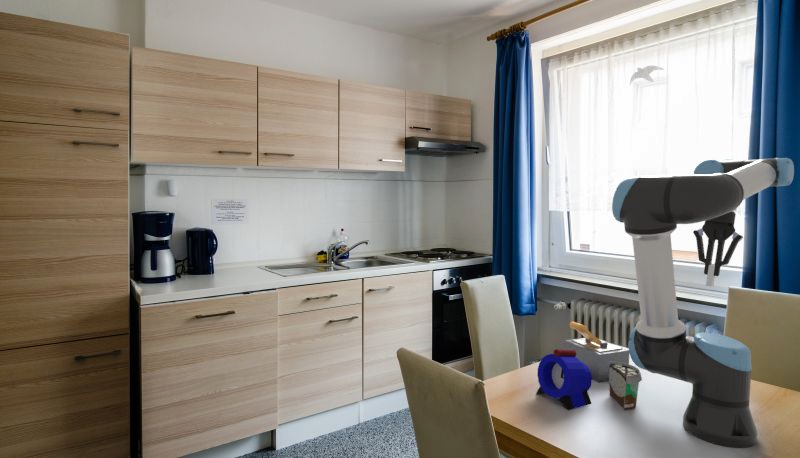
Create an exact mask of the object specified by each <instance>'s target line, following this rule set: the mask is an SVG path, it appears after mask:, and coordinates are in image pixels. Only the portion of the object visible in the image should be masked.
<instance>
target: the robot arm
mask: <svg viewBox="0 0 800 458" xmlns="http://www.w3.org/2000/svg"><path fill="white" fill-rule="evenodd" d="M794 176H795V165H794V162H793V160H792V159H791V158H788V157H782V158H781V157H774V158H762V159H760V158H759V159H743V160H742V159H739V160H737V159H726V158H725V159H717V160H716V159H704V160H702V161H700V162H699V163H697V165H696V166H695V168H694V170H693V174H686V173H684V174H668V175H667V174H666V175H665V174H661V175H660V174H658V175H655V174H654V175H644V174H643V175H642V174H641V175H639V176H630V177H629V176H628V177H627V178H624V179H623V180H622V181H621V182H620V183H619V184H618V185H617V187H616V188H615V191H614V193H613V197H612V203H611V204H612V205H611V209H612V210H611V211H612V215H613V217H614V218H615V220H616V221H617V222H619V223H623V226H624V232H625V233H626V234H627V235H629V236H630V237H631V238H632V247H633V255H634V264H635V276H636V284H637V291H638V292H637V293H638V302H639V311H640V320H639V321H638V322H637V323H636V325H635V326H634V327H633V329H632V330H631V332H630V334H629V341H628V345H627V346H628V350H629V357H630V359H631V361H632V362H633V363H634V365H635V366H636V367H637V368H638V369H642V370H645V371H648V372H650V373H652V374H657V375H661V376H665V377H669V378H672V379H676V380H678V381H679V380H680V381H682V382H686V383H689V384H692V393H691V397H690V400H689V401H688V404H687V406H686V408H685V411H684V413H683V416H682V425H683V428H684V429H685V430H686V431H687V432H688V433H689V434H691V435H693V436H694V437H697V438H699V439H701V440H704V441H706V442H709V443H713V444H716V445H719V446H723V447H724V446H725V447H729V448H730V447H732V448H747V447H752V446H754V445H756V444H757V442H758V430H757V427H756V424H755V421H754V418H753V414H752V412H751V408H750V398H751V379H752V369H753V365H752V364H753V363H752V352H751V349H750V348H749V347H748V346H747V345H746V344H744V343H743V342H741V341H740V340H737V339H735V338H732V337H731V336H728V335H727V336H726V335H722V334H719V333H711V332H706V331H705V332H697V333H696V334H695V335H694V336H691V335H689V334H688V335H687V329H686V328H687V327H686V324H685V323H684V322H683V321H681V320H679V314H678V303H677V293H676V291H677V290H676V283H675V282H676V280H675V271H674V270H675V269H674V261H673V259H674V258H673V249H672V246H673V245H672V236H671V234H672V233H673V232H674V231H676V229H677V226H678V225H689V224H690V225H692V224H696V223H697V224H698V223H702V222H704V224H703V225H702V227H701V228H699V229H697V230H693V232H692V233H693V235H694V236H695V238H696V239H695V240H696V248H697V255H698V261H700V262H702V263H704V269H703V274H704V275H707V276H706V283H705V286H706V287H714V285H715V284H714V283H715V279H716V277H719V276H720V271H721V267H722V266H727V265H728V264H729V263H730V261H731V258H732V257H733V254H734V252H735V250H736V248H737V247H738V246H737V245H738V244H739V243H740V242H741V241H742V240H743V238H744V237H743V235H741V234H739V233H738V232H736V229H735V222H736V215H737V214H736V212H735V211H737V208H738V207H740V205H741V204H742V202H743V201H744V200H746V199H748V198H750V197H751V196H754V195H755V194H757V193H759V192H761V191H763V190H766V189H768V188H770V187H776V188H778V187H786V186H790V185H791V184H792V182H793V180H794ZM704 234H705V235H706V238H707V248H706V255H705V247H704V240H703V239H704V238H703V235H704ZM731 236H732V237H731ZM730 237H731V239H732V241H731V243H730V245H729V247H728V249H727V251H726V253H725V255H724V257H723V254H724V249H725V248H724V247H725V244H726V241H727V240H728V239H729V238H730ZM716 241H717V246H716V254H715V259H714V264H713V263H712V261H713V254H714V249H715V242H716Z"/></svg>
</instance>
